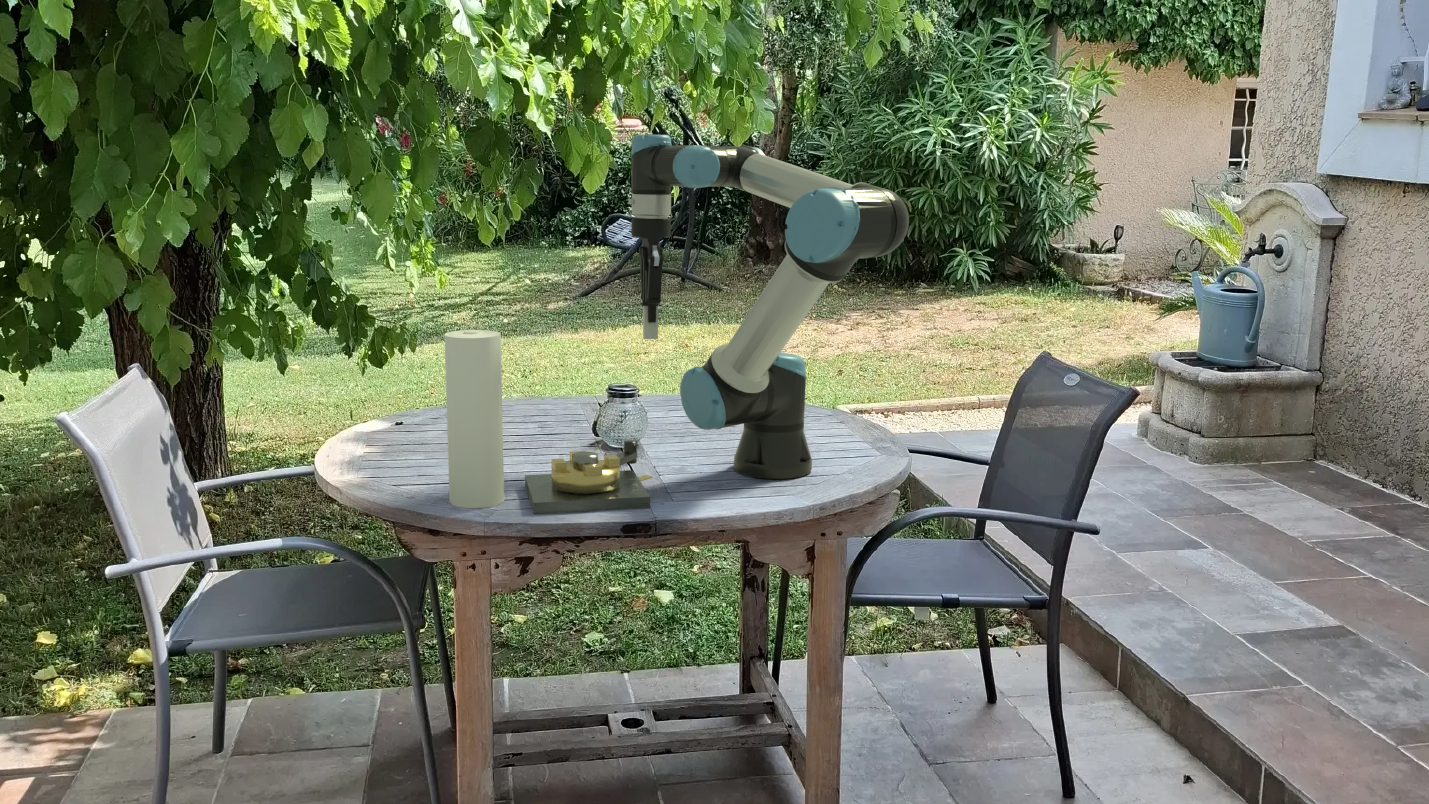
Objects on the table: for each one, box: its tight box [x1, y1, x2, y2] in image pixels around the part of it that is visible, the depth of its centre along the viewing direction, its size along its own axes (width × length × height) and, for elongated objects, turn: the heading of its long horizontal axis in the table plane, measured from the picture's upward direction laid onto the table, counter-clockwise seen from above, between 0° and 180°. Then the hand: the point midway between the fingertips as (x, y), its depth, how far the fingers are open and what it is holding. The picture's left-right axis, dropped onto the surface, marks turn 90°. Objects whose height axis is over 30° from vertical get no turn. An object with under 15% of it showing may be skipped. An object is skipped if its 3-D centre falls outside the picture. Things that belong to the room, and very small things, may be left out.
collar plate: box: [524, 469, 653, 515], centre depth 219 cm, size 24×21×2 cm
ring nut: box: [550, 439, 638, 493], centre depth 222 cm, size 24×12×5 cm, turn 155°
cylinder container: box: [444, 329, 505, 509], centre depth 211 cm, size 9×9×30 cm
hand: (650, 338), depth 239 cm, fingers closed
